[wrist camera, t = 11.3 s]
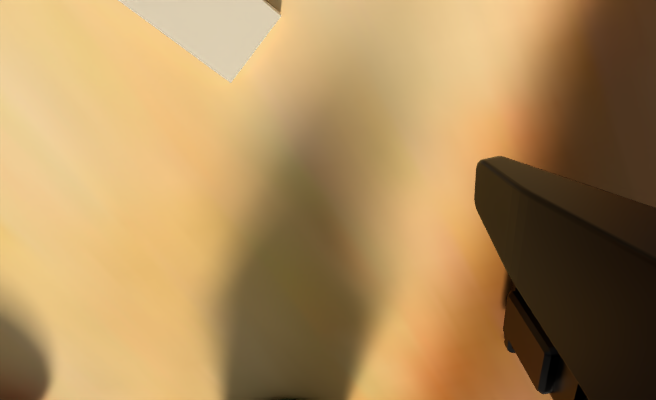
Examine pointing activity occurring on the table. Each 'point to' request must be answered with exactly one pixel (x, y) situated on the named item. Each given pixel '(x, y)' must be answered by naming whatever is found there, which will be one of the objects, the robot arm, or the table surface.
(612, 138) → the table surface
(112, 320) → the table surface
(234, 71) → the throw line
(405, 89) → the table surface
